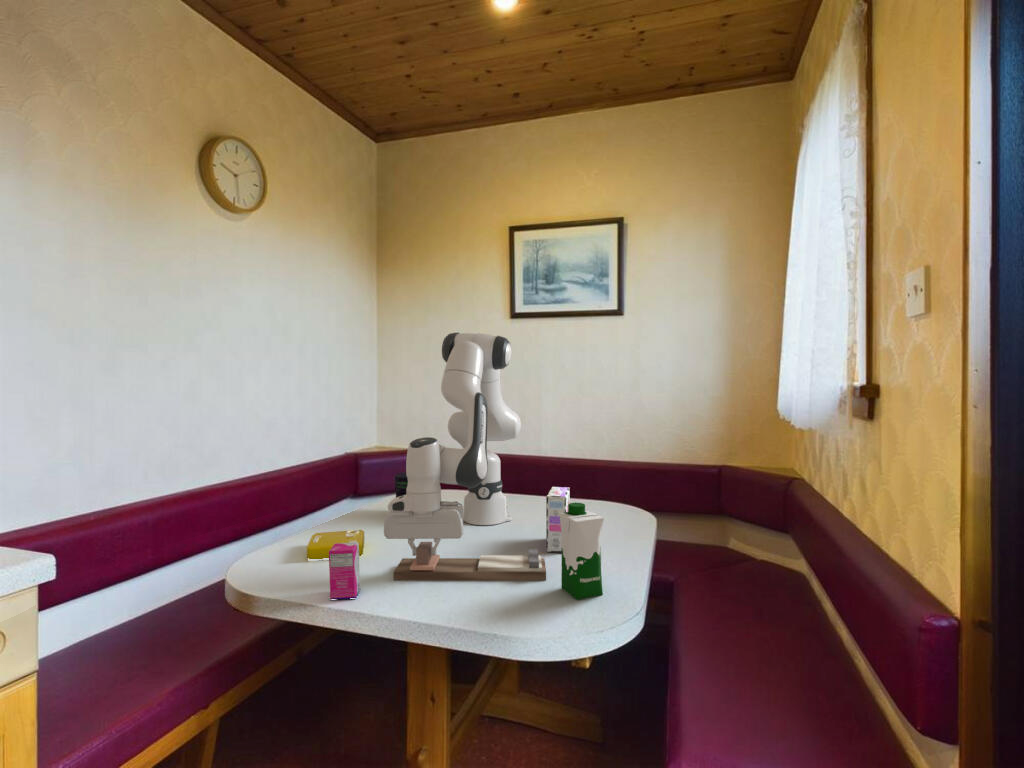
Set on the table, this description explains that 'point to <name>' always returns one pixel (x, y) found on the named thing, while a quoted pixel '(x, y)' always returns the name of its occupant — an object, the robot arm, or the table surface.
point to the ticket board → (478, 568)
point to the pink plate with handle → (424, 558)
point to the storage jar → (401, 484)
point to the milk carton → (581, 552)
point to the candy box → (555, 516)
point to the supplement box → (344, 570)
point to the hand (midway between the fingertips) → (424, 555)
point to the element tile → (332, 542)
